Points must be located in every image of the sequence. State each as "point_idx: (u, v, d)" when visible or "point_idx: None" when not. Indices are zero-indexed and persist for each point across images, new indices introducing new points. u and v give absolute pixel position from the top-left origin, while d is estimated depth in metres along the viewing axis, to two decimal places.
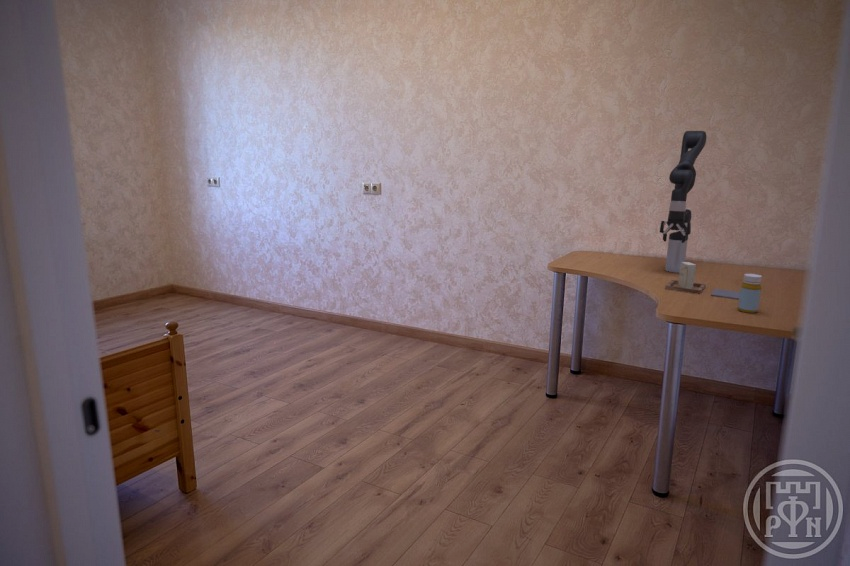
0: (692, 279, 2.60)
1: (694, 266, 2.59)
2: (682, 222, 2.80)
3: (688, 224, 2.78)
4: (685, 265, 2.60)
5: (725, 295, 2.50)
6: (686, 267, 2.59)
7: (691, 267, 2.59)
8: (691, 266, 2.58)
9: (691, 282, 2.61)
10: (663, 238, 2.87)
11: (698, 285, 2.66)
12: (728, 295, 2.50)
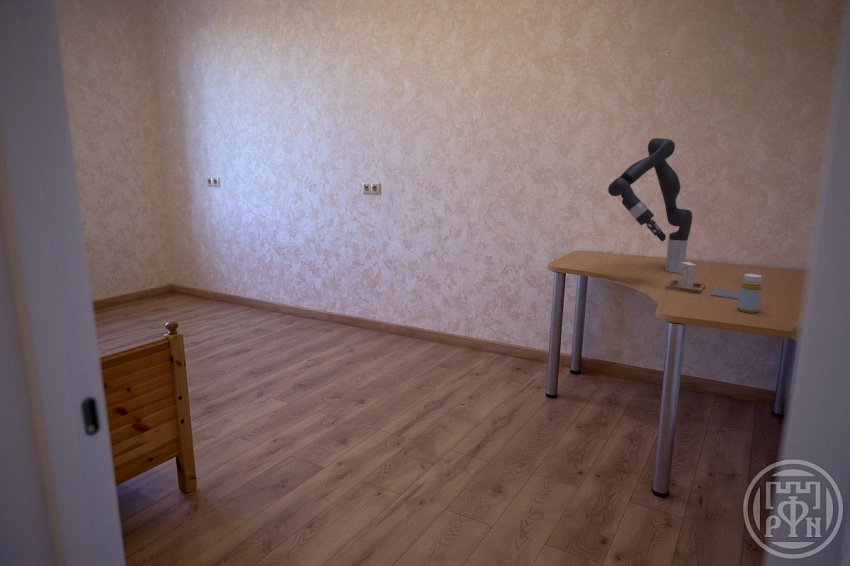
0: (692, 279, 2.60)
1: (694, 266, 2.59)
2: (647, 224, 2.62)
3: (647, 227, 2.59)
4: (685, 265, 2.60)
5: (725, 295, 2.50)
6: (686, 267, 2.59)
7: (691, 267, 2.59)
8: (691, 266, 2.58)
9: (691, 282, 2.61)
10: None
11: (698, 285, 2.66)
12: (728, 295, 2.50)
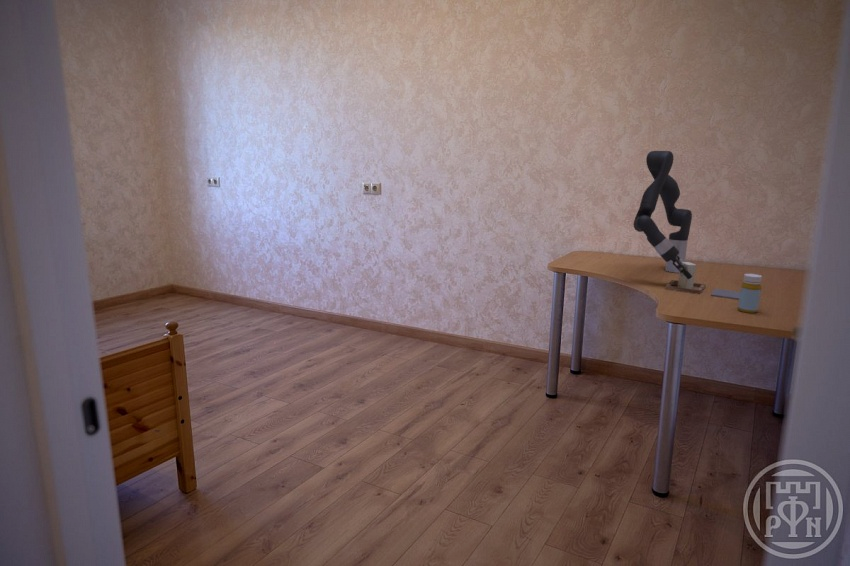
0: (692, 279, 2.60)
1: (694, 266, 2.59)
2: (673, 261, 2.61)
3: (674, 264, 2.58)
4: (685, 265, 2.60)
5: (725, 295, 2.50)
6: (686, 267, 2.59)
7: (691, 267, 2.59)
8: (691, 266, 2.58)
9: (691, 282, 2.60)
10: None
11: (698, 285, 2.66)
12: (728, 295, 2.50)
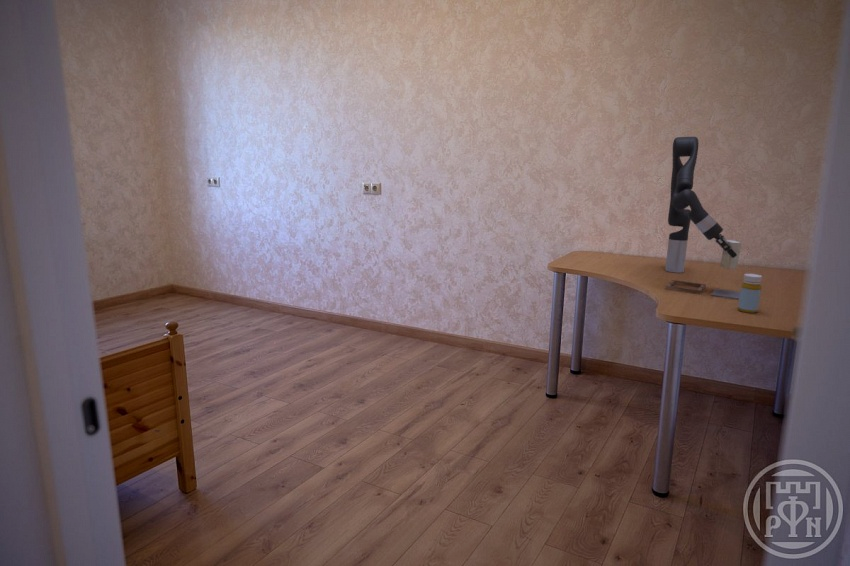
0: (736, 258, 2.47)
1: (739, 244, 2.45)
2: (716, 239, 2.48)
3: (717, 242, 2.45)
4: (729, 243, 2.47)
5: (725, 295, 2.50)
6: (731, 245, 2.46)
7: (736, 245, 2.45)
8: (736, 244, 2.45)
9: (735, 261, 2.47)
10: None
11: (698, 285, 2.66)
12: (728, 295, 2.50)
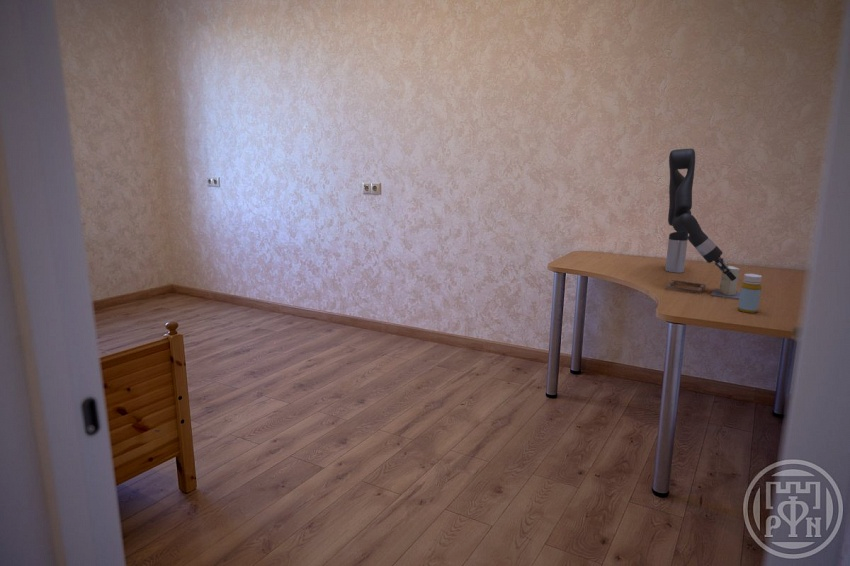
0: (735, 284, 2.49)
1: (738, 270, 2.48)
2: (715, 262, 2.50)
3: (717, 265, 2.47)
4: None
5: (725, 295, 2.50)
6: None
7: (734, 271, 2.48)
8: (734, 270, 2.48)
9: (734, 287, 2.50)
10: None
11: (698, 285, 2.66)
12: (728, 295, 2.50)
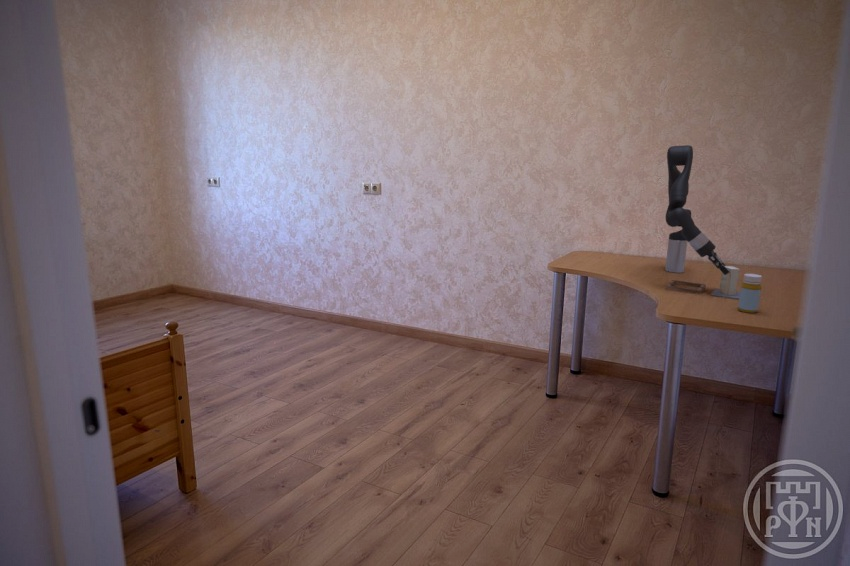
0: (735, 284, 2.49)
1: (737, 270, 2.48)
2: (709, 257, 2.51)
3: (710, 259, 2.48)
4: (728, 269, 2.49)
5: (725, 295, 2.50)
6: (729, 271, 2.48)
7: (734, 271, 2.48)
8: (734, 270, 2.48)
9: (734, 287, 2.50)
10: None
11: (698, 285, 2.66)
12: (728, 295, 2.50)
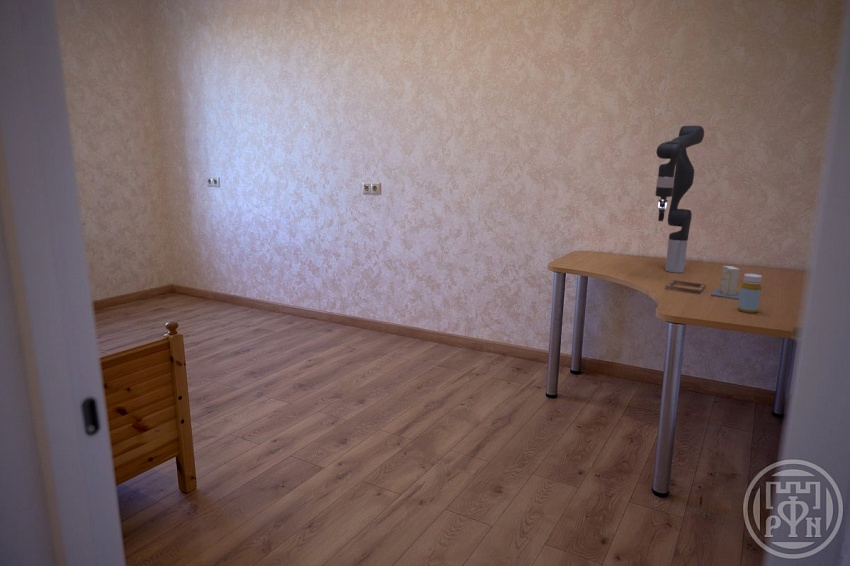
0: (735, 284, 2.49)
1: (737, 270, 2.48)
2: (660, 199, 2.68)
3: (660, 201, 2.66)
4: (728, 269, 2.49)
5: (725, 295, 2.50)
6: (729, 271, 2.48)
7: (734, 271, 2.48)
8: (734, 270, 2.48)
9: (734, 287, 2.50)
10: None
11: (698, 285, 2.66)
12: (728, 295, 2.50)
